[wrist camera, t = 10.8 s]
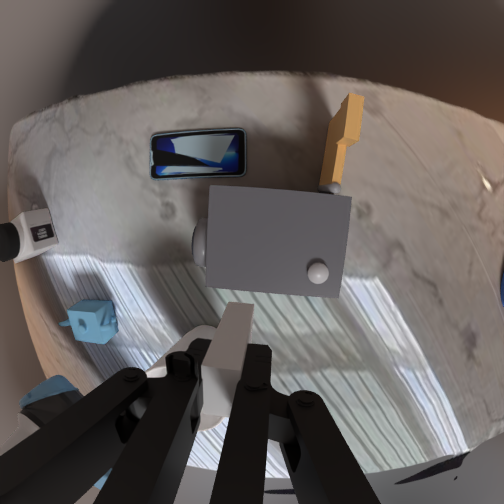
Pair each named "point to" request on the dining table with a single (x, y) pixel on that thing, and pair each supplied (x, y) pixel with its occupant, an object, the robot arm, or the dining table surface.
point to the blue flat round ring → (502, 290)
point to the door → (340, 142)
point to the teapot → (92, 321)
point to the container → (27, 236)
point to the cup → (182, 345)
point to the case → (273, 240)
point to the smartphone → (198, 154)
